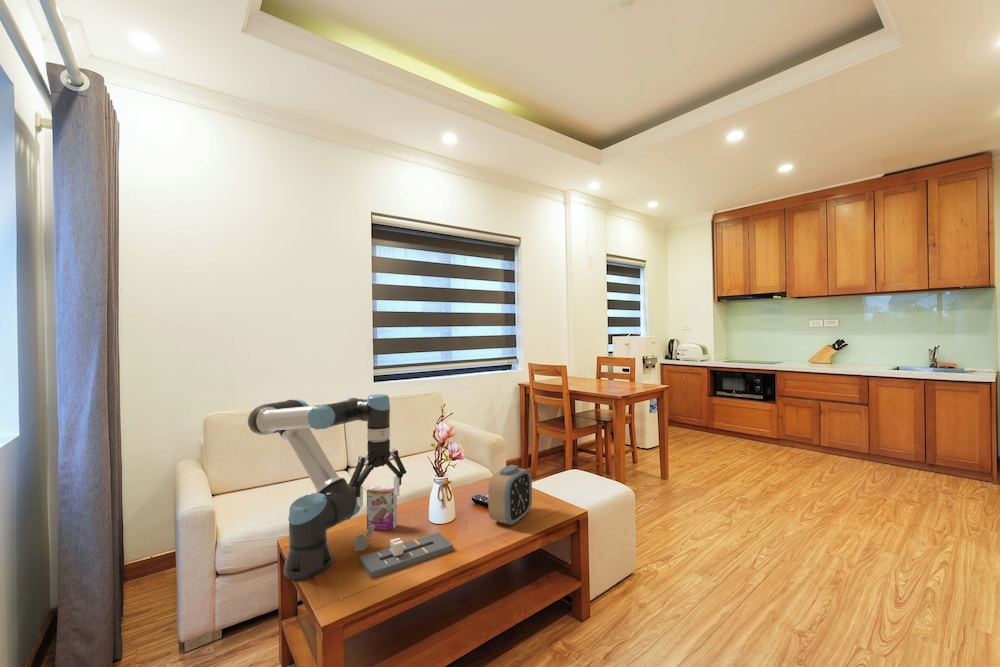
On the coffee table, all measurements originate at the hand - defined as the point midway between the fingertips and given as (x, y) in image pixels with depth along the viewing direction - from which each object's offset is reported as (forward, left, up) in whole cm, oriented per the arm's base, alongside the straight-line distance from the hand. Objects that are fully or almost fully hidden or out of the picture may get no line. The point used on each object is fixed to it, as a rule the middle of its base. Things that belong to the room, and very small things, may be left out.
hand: (379, 500), depth 147 cm
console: (+9, -3, -21) cm, 23 cm away
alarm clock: (+56, -1, -21) cm, 60 cm away
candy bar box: (+9, +24, -21) cm, 33 cm away
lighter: (-1, +12, -21) cm, 24 cm away
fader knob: (+5, -3, -21) cm, 22 cm away
